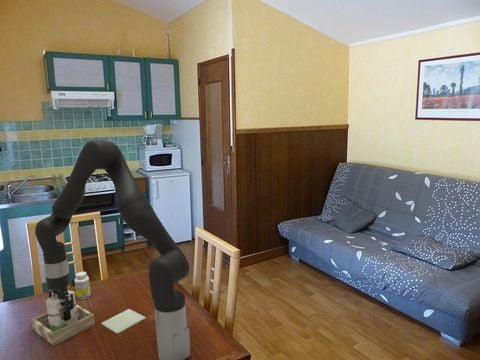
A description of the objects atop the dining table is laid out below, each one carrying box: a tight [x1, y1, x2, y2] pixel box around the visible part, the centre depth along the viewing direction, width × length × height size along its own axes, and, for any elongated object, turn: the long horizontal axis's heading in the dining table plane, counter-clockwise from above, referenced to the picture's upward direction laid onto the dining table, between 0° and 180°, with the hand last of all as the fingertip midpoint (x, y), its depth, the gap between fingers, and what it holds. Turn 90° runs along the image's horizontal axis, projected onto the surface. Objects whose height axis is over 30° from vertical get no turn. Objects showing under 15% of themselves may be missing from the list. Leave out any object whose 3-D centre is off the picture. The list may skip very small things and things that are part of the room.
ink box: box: [45, 290, 79, 332], centre depth 133 cm, size 9×5×12 cm, turn 159°
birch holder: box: [30, 303, 96, 346], centre depth 134 cm, size 15×15×4 cm
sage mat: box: [100, 308, 146, 335], centre depth 138 cm, size 10×12×1 cm
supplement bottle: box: [73, 271, 92, 300], centre depth 155 cm, size 6×6×10 cm
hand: (63, 316), depth 134 cm, fingers closed on ink box, 6 cm apart
